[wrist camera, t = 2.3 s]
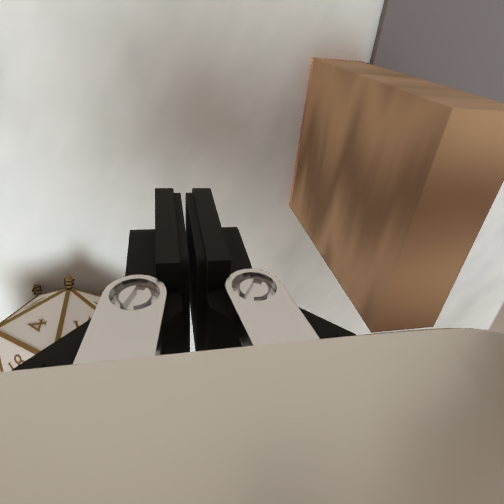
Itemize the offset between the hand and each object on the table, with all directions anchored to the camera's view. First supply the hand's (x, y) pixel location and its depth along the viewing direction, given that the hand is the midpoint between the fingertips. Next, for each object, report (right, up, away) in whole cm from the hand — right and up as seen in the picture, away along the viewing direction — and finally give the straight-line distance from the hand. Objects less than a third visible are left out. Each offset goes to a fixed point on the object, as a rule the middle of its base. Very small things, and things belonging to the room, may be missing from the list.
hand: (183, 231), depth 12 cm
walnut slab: (+7, +6, +11) cm, 15 cm away
